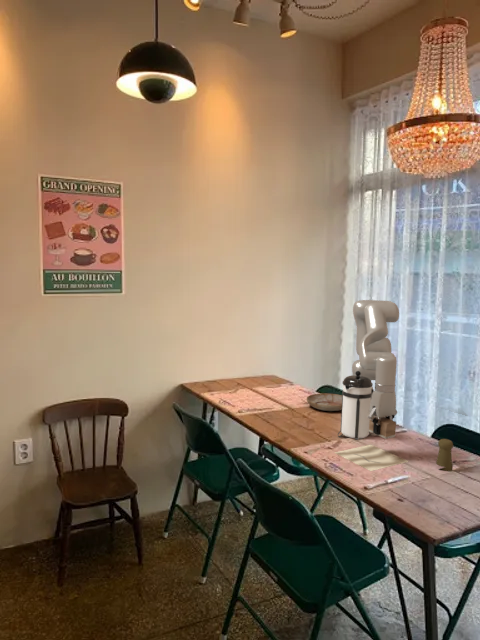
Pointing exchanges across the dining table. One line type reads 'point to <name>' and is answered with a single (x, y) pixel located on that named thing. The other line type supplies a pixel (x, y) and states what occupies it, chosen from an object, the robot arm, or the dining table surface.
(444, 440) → the cork
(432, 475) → the dining table surface
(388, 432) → the block
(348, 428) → the coffee press
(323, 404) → the ceramic bowl
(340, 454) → the birch board
